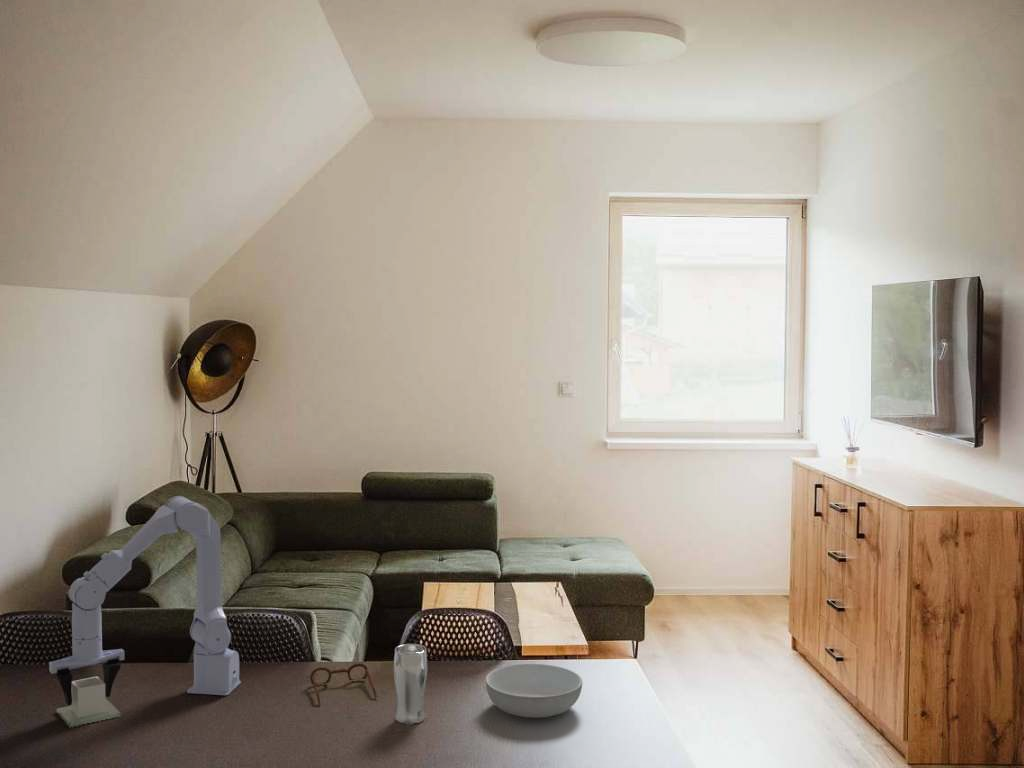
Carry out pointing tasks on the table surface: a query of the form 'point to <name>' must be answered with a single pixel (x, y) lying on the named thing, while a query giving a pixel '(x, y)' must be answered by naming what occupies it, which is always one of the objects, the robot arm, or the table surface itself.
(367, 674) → the glasses
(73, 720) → the duct stub
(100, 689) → the sleeve
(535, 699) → the serving bowl
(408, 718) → the beer glass
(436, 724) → the table surface
